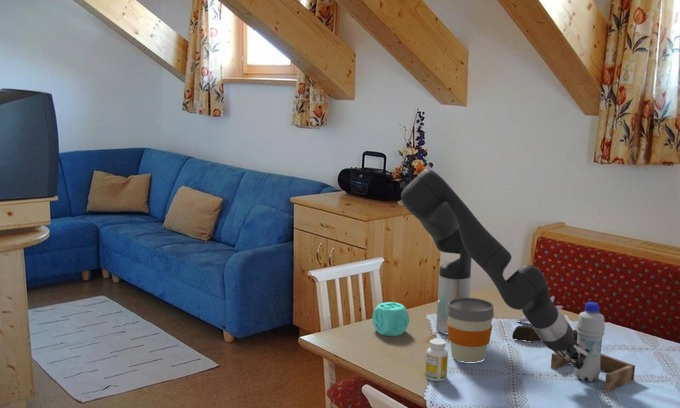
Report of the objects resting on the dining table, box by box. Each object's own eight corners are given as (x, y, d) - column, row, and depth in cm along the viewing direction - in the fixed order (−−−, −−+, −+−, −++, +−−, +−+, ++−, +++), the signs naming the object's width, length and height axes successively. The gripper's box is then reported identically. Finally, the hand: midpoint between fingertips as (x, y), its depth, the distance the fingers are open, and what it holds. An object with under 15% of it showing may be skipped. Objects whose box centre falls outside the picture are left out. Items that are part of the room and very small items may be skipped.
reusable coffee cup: (462, 345, 200) (465, 294, 197) (500, 357, 191) (503, 304, 188) (435, 356, 191) (437, 303, 188) (473, 370, 182) (476, 315, 180)
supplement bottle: (427, 382, 174) (429, 345, 173) (423, 373, 180) (424, 337, 178) (449, 381, 175) (450, 345, 173) (443, 372, 180) (445, 337, 179)
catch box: (608, 391, 171) (609, 375, 170) (550, 368, 184) (551, 353, 184) (633, 380, 177) (635, 365, 177) (576, 358, 191) (577, 345, 190)
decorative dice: (409, 333, 209) (409, 307, 208) (388, 338, 204) (388, 312, 203) (392, 325, 215) (393, 300, 214) (371, 330, 211) (372, 304, 210)
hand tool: (577, 341, 205) (578, 325, 204) (580, 345, 201) (581, 330, 200) (511, 337, 207) (512, 322, 206) (512, 342, 203) (513, 327, 203)
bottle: (568, 372, 181) (574, 298, 178) (593, 372, 182) (600, 298, 179) (578, 383, 175) (585, 306, 172) (604, 383, 175) (611, 306, 172)
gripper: (521, 331, 171) (550, 368, 180) (566, 348, 160) (594, 387, 169) (537, 307, 173) (564, 345, 182) (583, 322, 162) (609, 362, 171)
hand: (579, 365), depth 176 cm, fingers closed
